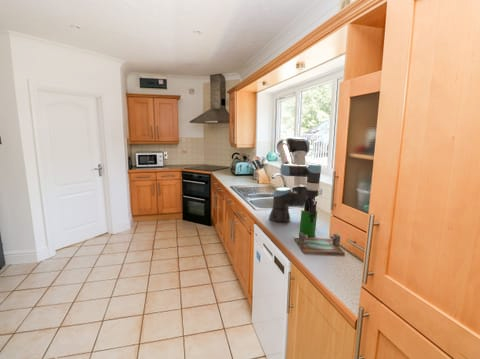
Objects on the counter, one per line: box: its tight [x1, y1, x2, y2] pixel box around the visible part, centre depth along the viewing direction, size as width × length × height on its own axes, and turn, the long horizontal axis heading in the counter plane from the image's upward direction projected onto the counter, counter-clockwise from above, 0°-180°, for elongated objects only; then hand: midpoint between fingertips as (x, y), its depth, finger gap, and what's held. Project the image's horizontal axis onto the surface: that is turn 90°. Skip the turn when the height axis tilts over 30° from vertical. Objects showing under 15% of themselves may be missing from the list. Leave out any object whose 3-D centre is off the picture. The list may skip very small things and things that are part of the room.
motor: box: [299, 204, 318, 238], centre depth 161 cm, size 10×9×20 cm
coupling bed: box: [294, 231, 346, 256], centre depth 144 cm, size 18×22×8 cm
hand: (308, 224), depth 163 cm, fingers closed on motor, 7 cm apart
